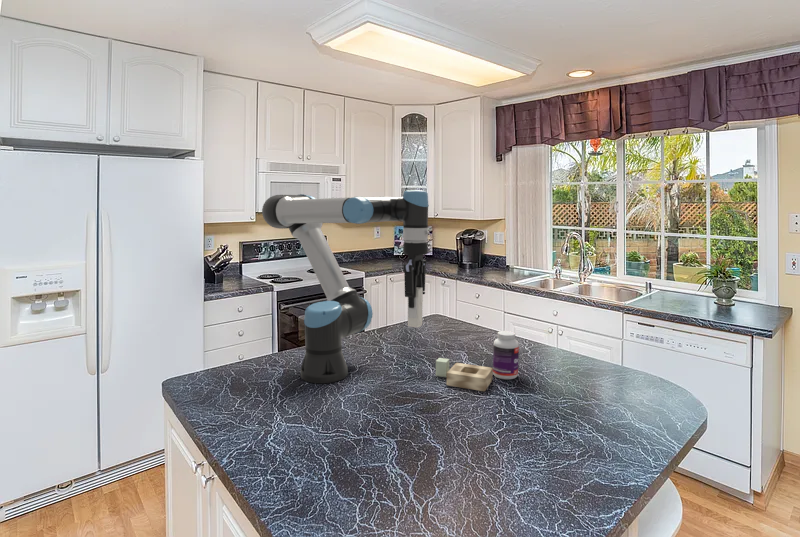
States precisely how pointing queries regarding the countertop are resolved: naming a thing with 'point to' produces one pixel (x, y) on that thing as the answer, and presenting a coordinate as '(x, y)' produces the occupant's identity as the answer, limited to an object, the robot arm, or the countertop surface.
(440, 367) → the short peg
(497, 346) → the pill bottle
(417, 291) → the long peg
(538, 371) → the countertop surface
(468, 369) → the hole block
